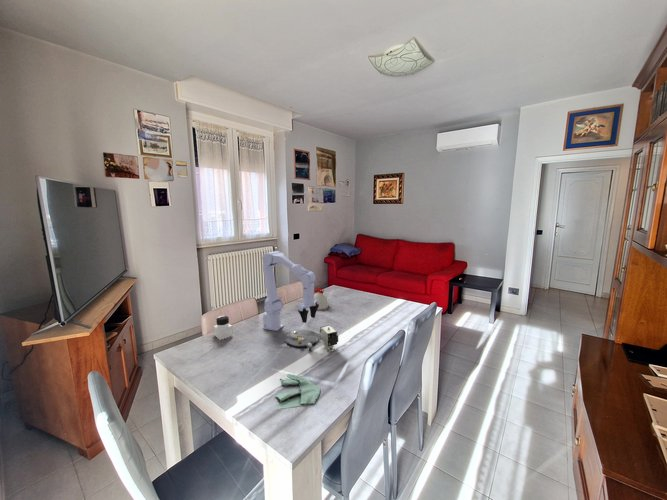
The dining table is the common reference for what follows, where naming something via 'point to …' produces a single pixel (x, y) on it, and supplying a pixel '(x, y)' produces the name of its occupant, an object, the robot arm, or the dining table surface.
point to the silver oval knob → (309, 346)
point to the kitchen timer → (320, 299)
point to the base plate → (305, 346)
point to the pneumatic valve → (328, 337)
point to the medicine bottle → (223, 328)
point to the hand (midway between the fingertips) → (308, 319)
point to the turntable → (303, 338)
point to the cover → (295, 335)
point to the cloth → (298, 392)
